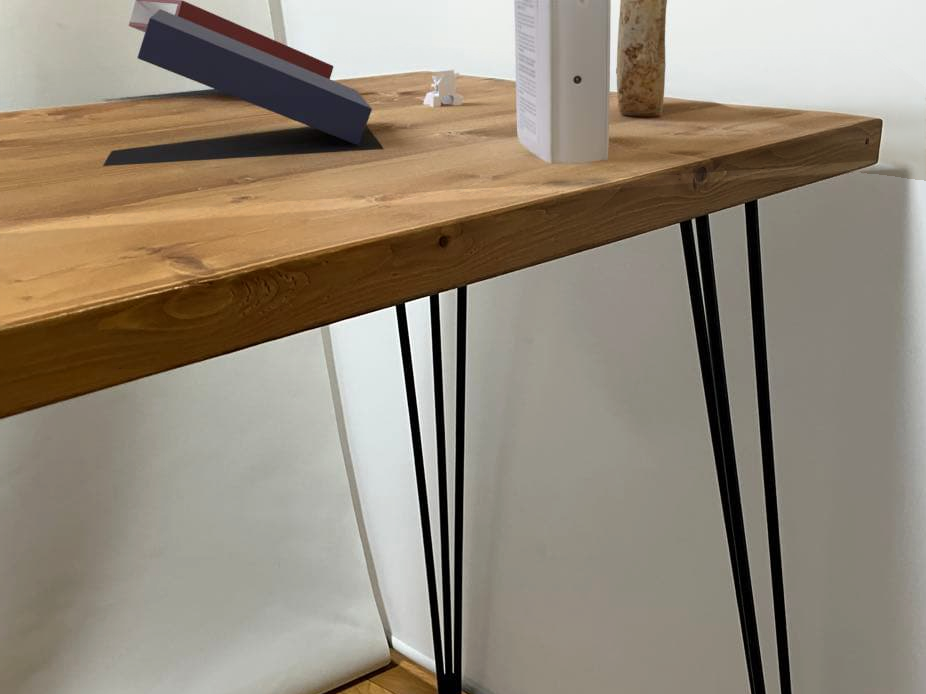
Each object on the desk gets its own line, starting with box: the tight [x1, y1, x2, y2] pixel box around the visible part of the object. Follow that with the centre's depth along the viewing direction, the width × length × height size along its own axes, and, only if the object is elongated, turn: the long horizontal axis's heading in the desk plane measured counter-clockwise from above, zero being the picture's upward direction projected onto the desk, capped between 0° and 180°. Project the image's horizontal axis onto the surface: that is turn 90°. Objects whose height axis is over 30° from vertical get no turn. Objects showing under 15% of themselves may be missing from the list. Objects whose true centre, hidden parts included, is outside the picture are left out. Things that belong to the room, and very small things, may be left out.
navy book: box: [137, 9, 373, 146], centre depth 73 cm, size 14×10×2 cm
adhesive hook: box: [422, 69, 464, 108], centre depth 89 cm, size 3×3×3 cm
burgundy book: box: [128, 0, 334, 80], centre depth 95 cm, size 14×10×2 cm
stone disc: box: [615, 0, 668, 118], centre depth 82 cm, size 10×4×10 cm, turn 171°
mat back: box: [103, 88, 253, 107], centre depth 96 cm, size 17×13×1 cm
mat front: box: [102, 126, 385, 167], centre depth 74 cm, size 17×13×1 cm
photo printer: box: [513, 0, 612, 164], centre depth 67 cm, size 10×4×12 cm, turn 13°
